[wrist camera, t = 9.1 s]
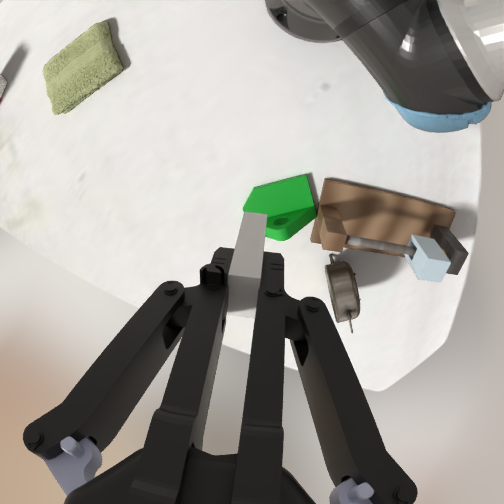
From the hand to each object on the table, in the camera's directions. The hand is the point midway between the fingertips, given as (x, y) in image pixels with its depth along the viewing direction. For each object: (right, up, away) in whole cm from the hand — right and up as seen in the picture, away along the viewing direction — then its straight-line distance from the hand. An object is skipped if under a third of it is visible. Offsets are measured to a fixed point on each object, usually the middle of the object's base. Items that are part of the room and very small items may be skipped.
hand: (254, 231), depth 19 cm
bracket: (+4, +7, +31) cm, 32 cm away
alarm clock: (+17, -5, +37) cm, 41 cm away
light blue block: (+29, 0, +24) cm, 38 cm away
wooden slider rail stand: (+25, +4, +30) cm, 39 cm away
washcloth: (-31, +32, +18) cm, 48 cm away
